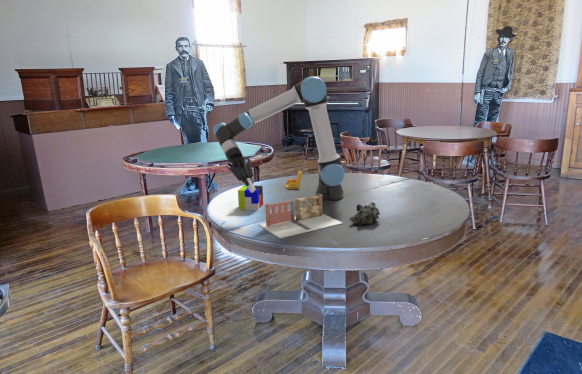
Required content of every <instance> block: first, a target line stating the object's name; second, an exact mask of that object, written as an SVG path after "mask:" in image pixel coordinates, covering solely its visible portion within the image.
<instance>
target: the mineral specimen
mask: <svg viewBox="0 0 582 374" xmlns="http://www.w3.org/2000/svg"><path fill="white" fill-rule="evenodd" d="M356 211H357V213H355V214H354V215H353V216H351V217H349V220H350V222H352V223H353V224H355V225H359V226H362V225H371V224H373V223H374V224H377V223H378V220H379V218H380V217H379V215H381V213H380V210H379V208H378V207H377V205H376V203H375V202H373V201H371V202H369V204H368V205H366V204H365V205H364V206H363V205H361V204H356Z"/></svg>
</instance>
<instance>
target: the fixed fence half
mask: <svg viewBox="0 0 582 374" xmlns="http://www.w3.org/2000/svg"><path fill="white" fill-rule="evenodd" d="M307 201H308V206H307ZM312 201H313V203H312ZM300 202H302V207H301V208H300V205H301V204H300ZM294 213H295V216H296V220H301V219H305V218H310V217H315V216H319V215H322V214H323V200H322V194H318V195H316V194H315V195H312V196H311V195H310V196H306V197H302V198H301V197H300V198H294Z"/></svg>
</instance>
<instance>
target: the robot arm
mask: <svg viewBox="0 0 582 374" xmlns="http://www.w3.org/2000/svg"><path fill="white" fill-rule="evenodd" d="M298 103H299V104H303V105H304V109H306V110H308V112H309V117H310V121H311V122H310V123H311V126H312V131H313V135H314V138H315V143H316V148H317V151H318V155H319V156H318V159H317V165H318V167H317V168H318V170H317V171H318V184H317V186H316V187H317V188H316V190H315V196H316V195H318V194H322V201H337V200H340V199H343V198H344V190H343V187H342V184H341V183H342V182H343V181H344V178H345V176H346V175H345V174H346V172H345V169H344V166H343V163H342V158H341V155H340V154H338V153H337V150H336V146H335V141H334V140H335V139H334V137H333V133H332V132H333V131H332V126H331V122H330V119H329V118H330V117H329V113H328V110H327V105H328V103H329V99H328V95H327V85H326V83H325V81H324V80H323V79H322V78H320V77H319V76H315V75H313V76H312V75H311V76H307V77H306V78H304V79H302V80H301V81H299V83H297V84H294V85H293V86H292V88H291V89H289V90H287V91H285V92H284V93H282V94H279V95H277V96H275V97H273V98H271V99H269V100H266V101H265V102H262V103H261V104H258V105H257V106H255V107H252V108H251V109H248V110H247V111H245V112H242V113H239V114H238V115H237V116H236V117H235V118H234V119H232V120H231V121H230V122H228V123H225V122H220V123H217V124H215V125H214V127H213V128H212V132H213V135H214V137H215V139H216V140H217V142H218V144H219V145H220V148H221V150H222V152H223V154H224V156H225V158H226V159H227V161H228V163H227V164H226V167H225V168H227V169H229V170H230V172H232V174H233V175H234V176H235V178H236V179H237V181H239V182H241V183H244V185H246V186H248V188H249V190H250V192H251V193H252V192H254V191H255V187H254V186H255V185H254V181H253V177H254V172H253V168H252V165H251V159H245V157H244V156H243V152H242V151H241V149H240V147H239V145H238V143H237V142H236V139H235V138H236V137H237V136H239V135H241V134H242V133H243V132H245V131H247V130H249V129H250V128H251V127H252V126H254V125H255V124H257V123H260V122H261V121H264V120H267V118H270V117H272V116H274V115H276V114H277V113H280V112H282V111H284V110H286V109H288V108H291V107H292V106H295V105H297V104H298Z"/></svg>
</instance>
